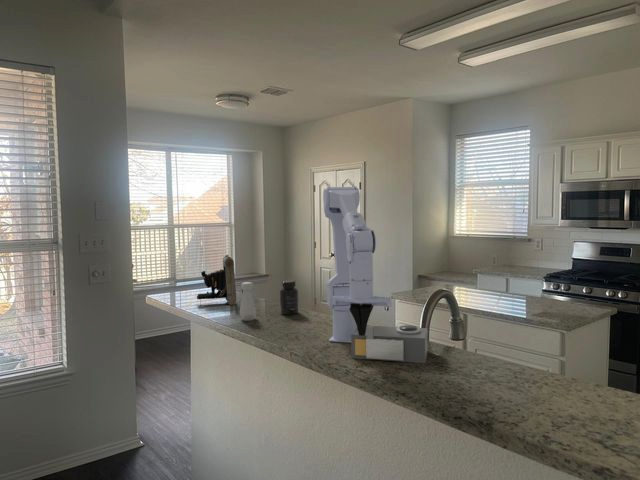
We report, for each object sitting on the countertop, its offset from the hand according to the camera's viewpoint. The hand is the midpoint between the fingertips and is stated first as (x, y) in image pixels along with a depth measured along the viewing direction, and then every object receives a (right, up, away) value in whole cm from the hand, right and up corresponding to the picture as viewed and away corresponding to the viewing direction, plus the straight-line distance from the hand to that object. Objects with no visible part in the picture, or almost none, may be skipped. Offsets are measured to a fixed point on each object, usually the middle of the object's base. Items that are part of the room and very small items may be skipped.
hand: (362, 334), depth 114 cm
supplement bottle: (-22, -4, +57) cm, 61 cm away
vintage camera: (-53, -4, +77) cm, 94 cm away
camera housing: (+8, -6, +4) cm, 11 cm away
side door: (+5, -6, -1) cm, 8 cm away
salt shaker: (-35, -5, +48) cm, 60 cm away
